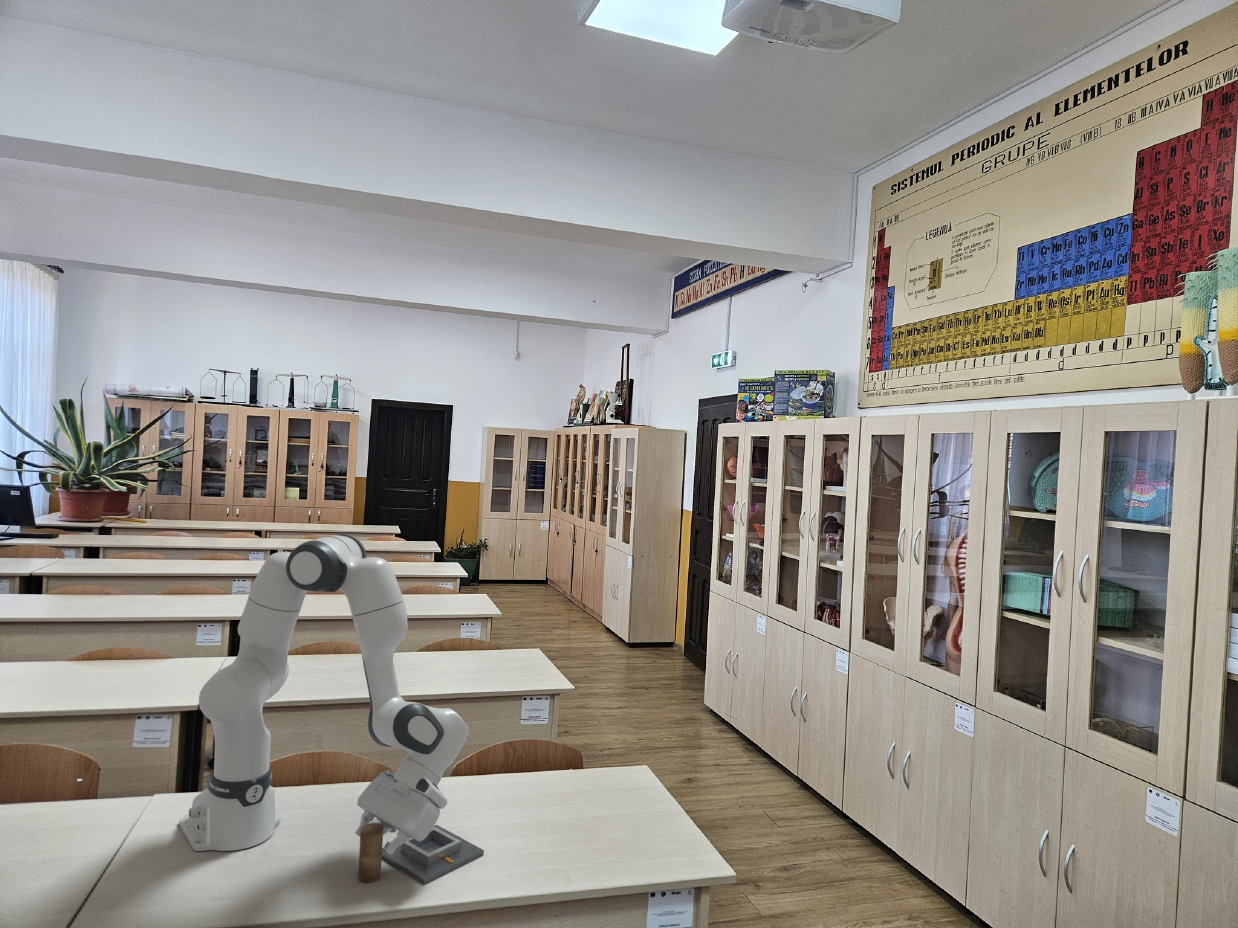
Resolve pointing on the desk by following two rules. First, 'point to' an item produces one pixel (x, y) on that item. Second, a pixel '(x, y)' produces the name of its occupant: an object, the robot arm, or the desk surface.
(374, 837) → the pin
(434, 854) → the square frame on plate
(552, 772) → the desk surface
